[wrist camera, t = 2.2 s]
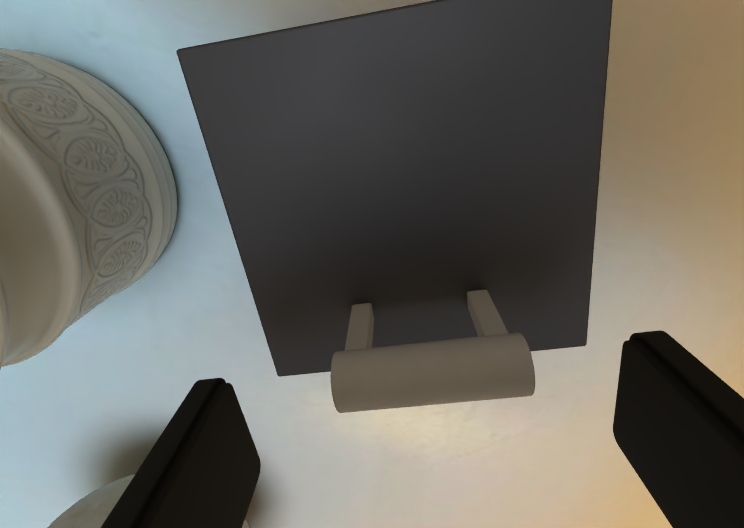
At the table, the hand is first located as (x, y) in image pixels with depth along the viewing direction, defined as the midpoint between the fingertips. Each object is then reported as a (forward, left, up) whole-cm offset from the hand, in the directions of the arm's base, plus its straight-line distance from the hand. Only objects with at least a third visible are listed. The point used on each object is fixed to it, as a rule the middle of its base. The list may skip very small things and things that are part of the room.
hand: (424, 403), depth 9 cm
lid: (-3, 0, -5) cm, 6 cm away
